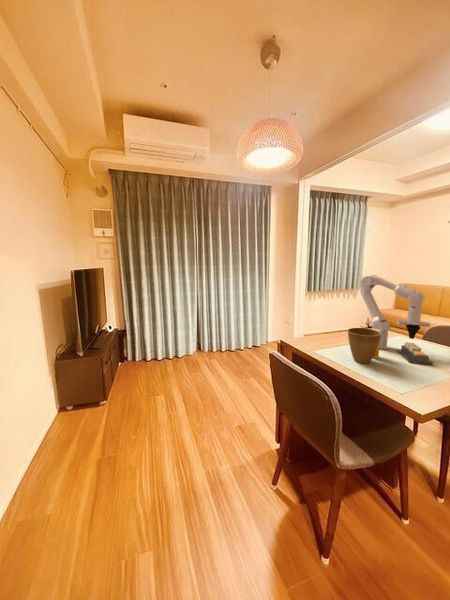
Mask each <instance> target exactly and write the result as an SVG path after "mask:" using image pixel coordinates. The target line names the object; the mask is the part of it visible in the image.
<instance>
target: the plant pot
mask: <svg viewBox="0 0 450 600" xmlns="http://www.w3.org/2000/svg"><path fill="white" fill-rule="evenodd" d="M372 329H373V328H365V327H351V328H348V329H347V338H348V344H349V347H350V348H349V349H350V352H351V356H352V359H353V360H354V362H356V363H359V364H363V365H364V364H365V365H366V364H370V363H371V361H372V359H374V358H373V356H374V354H375V351H376V349H377V346H378V343H379V340H380V336H381V333H380V332H379V331H376V330H372Z"/></svg>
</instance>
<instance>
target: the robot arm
mask: <svg viewBox="0 0 450 600" xmlns="http://www.w3.org/2000/svg"><path fill="white" fill-rule="evenodd" d="M359 283H360V289H359V290H360V291H359V293H360V295H361V296H362V298H363V301H364V303H365V306H366V307H367V309H368V311H369V314H370V316H371V319H372V320H371V324H372V329H378V330H380V332H381V336H380V345H379V350H380V349H382V350H390V347H389V346H388V339H389V338H388V336H389V332H388V331H389V330H390V329H391V324H390V322H389V321H388V320H387V319H386V317H384V316H383V315H382V313H381V310H380V308H379V306H378V304H377V301H376V300H375V298H374V296H373V293H372V290H373V289H374V287H375V286H382V287H383V288H387V289H389V290H391V291H394V294H395V295H397V296H399V297H401V298H403V299H405V300H408V302H409V303H408V310H407V318H406V320H397V322H396V324H397V325H398V326H405V328H406V329H407V332H408V338H409V339H411V340H413V339H415V337H416V335H417V333H418V332H419V330H420V329H421V327H428V328H430V327H431V323H430V322H428V321H427V322H426V321H421V319H422V318H421V317H422V313H423V312H422V311H423V301H425V299H426V297H425V294H424V293H423V292H421V291H417V290H416V289H411V288H410V287H408V286H407V285H403V284H399V285H397V284H395V283H393V282H391V281H389V280H386V279H385V278H384V277H381V276H377V275H376V274H373V275H365V276H363V277H362V278H361V279H360V281H359Z"/></svg>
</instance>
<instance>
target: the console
mask: <svg viewBox="0 0 450 600" xmlns="http://www.w3.org/2000/svg"><path fill="white" fill-rule="evenodd" d="M404 346H405V344H404V345H401V349H398V348H397V349H396V352H397V354H399V355H400V356H401V357H402V358H403V359H405V360H406V362H408V363H409V364H419V365H427V366H429V365H430V366H434V362H433V361H432V360H431V359H430V356H428V355H427V354H426V357H425V356H416V355H414V354H413V352H411V351H409V350H408V349H407V348H406V347H404ZM421 352H423V351H422V350H421Z"/></svg>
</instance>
